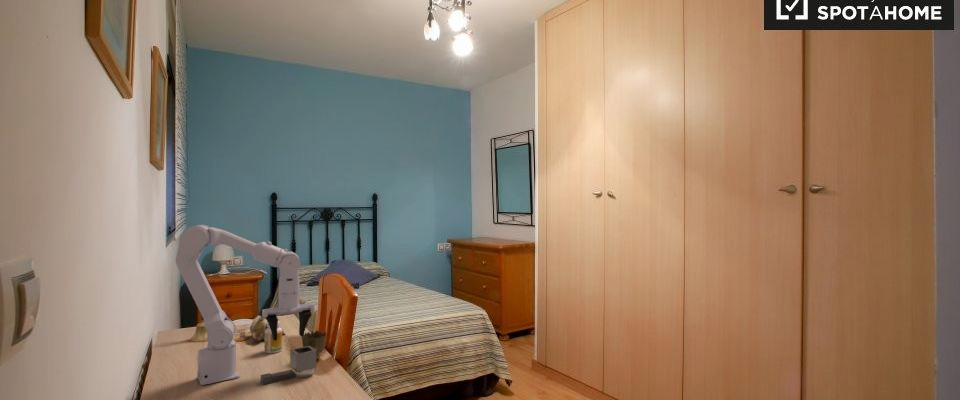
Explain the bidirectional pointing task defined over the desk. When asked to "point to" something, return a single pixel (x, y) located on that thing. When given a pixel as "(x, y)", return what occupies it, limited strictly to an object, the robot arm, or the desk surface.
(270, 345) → the supplement bottle
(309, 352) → the dark-topped grey cube
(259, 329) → the ceramic sculpture
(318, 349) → the cup
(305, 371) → the ratchet
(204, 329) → the hand bell
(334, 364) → the desk surface
